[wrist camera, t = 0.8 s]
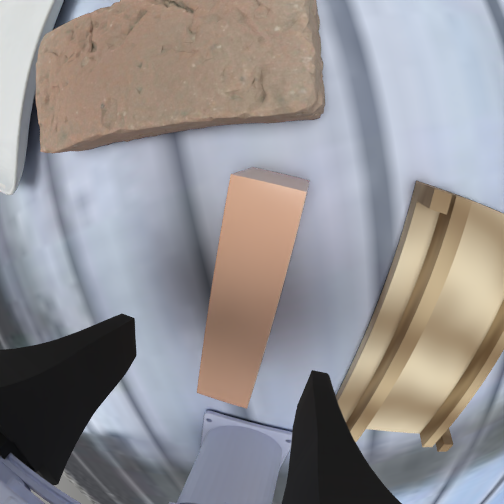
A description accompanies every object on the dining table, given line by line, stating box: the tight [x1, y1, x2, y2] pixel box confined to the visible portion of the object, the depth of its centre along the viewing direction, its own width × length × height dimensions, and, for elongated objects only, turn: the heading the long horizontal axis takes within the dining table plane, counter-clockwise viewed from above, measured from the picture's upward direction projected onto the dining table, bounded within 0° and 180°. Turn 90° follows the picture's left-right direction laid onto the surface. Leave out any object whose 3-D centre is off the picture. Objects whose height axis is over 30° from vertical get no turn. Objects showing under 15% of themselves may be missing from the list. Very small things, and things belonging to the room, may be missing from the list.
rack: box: [336, 181, 504, 452], centre depth 16 cm, size 18×11×3 cm, turn 170°
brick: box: [35, 0, 325, 153], centre depth 14 cm, size 17×8×5 cm, turn 93°
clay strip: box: [197, 167, 310, 408], centre depth 17 cm, size 13×3×4 cm, turn 169°
